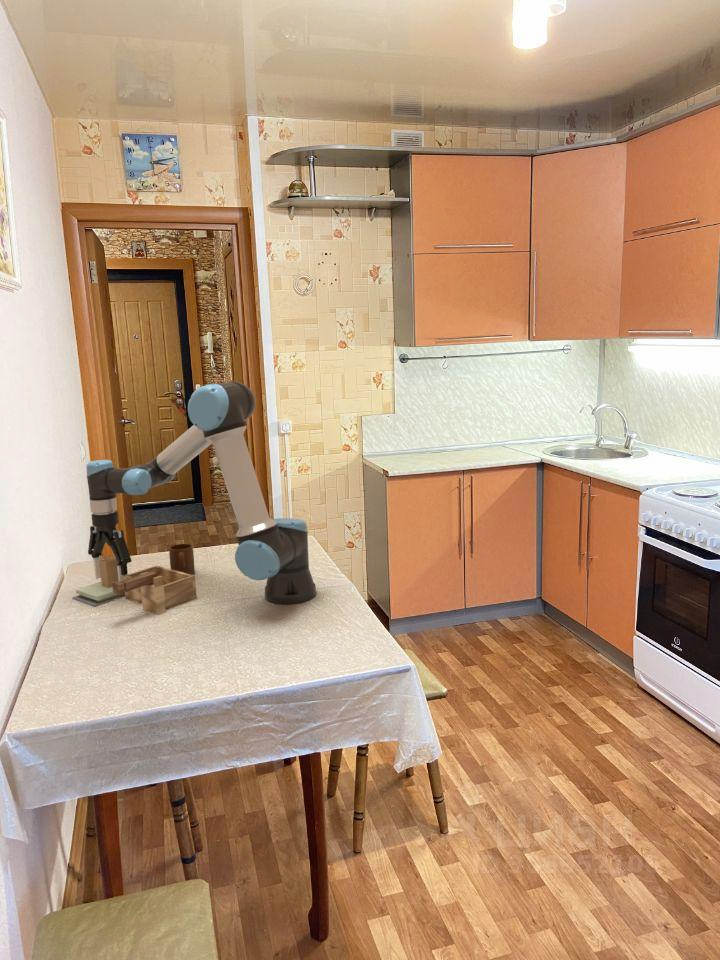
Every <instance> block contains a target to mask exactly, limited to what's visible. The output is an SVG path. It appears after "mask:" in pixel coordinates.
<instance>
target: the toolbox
mask: <svg viewBox="0 0 720 960" xmlns="http://www.w3.org/2000/svg"><path fill="white" fill-rule="evenodd" d="M148 572H155V573H156V574H157V577H155V578H153V583H151V584H148V585H145V586H142V587H139V588H136V589H133V590H130V591H127V592H125V596H124V598H125V600H129V601H132V602H134V603H138V604H141V605H142V610H144V611H147V612H150V613H152V614H156V615H161V614H164V613H166V611H167V610H170V609H172V608H175V607H177V606H180V605H184V604H185V603H188V602H190V601H193V600H196V599H198V598H197V584H196V575H194V574H193V575H191V574H187V573H183V572H179V571H175V570H172V569H171V568H168V567H164V566H160V565H155V566H151V567H148V568H144V569H142V570H139V571H135V572H132V573H130V574H129V573H128V574H129V575H126V576H123V578H124V580H126V579H129V578H133V577H136V576H139V575H142V574H145V573H148Z"/></svg>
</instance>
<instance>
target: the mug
mask: <svg viewBox="0 0 720 960" xmlns="http://www.w3.org/2000/svg"><path fill="white" fill-rule="evenodd" d="M168 552H169V553H168V555H169V565H170V569H172V570H175V571H179V572H183V573H187V574H191V575H194V574H195V556H194V548H193V545H192V544H191V543H178V544H173V545H171V546H169V549H168Z"/></svg>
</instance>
